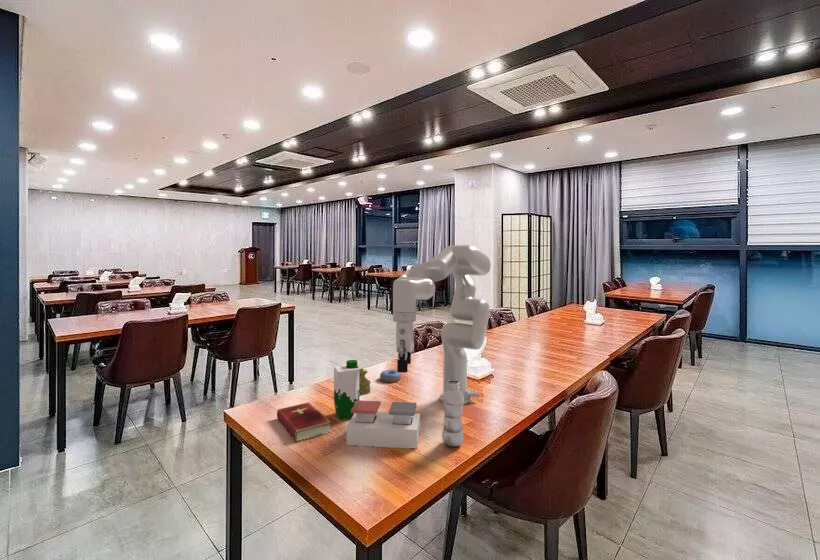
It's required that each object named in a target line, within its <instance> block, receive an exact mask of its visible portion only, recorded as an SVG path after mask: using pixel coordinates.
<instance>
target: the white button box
mask: <svg viewBox="0 0 820 560" xmlns="http://www.w3.org/2000/svg"><path fill="white" fill-rule="evenodd" d="M420 432H421V413H418V412H417V413H416V412H415V414H414V416H412V424H411V425H395V424H393V415H389V411H377V413H376V420H375V422H374V423H356V413H354V415H353V417H352V418H350V420H349V422H348V424H347V425H346V446H353V445H356V447H357V445H358V447H372V446H374V448H376V447H377V448H392V449H393V448H395V449H410V448H415V449H414V450H417V449H418V444H419V440H420V439H419V438H420V434H419V433H420Z"/></svg>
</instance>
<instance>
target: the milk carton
mask: <svg viewBox="0 0 820 560" xmlns="http://www.w3.org/2000/svg"><path fill="white" fill-rule="evenodd" d="M345 362H346V364H339V365H334V366H333V405H334V409H335V411H334V412H335V414H336V416H337V417H338V419H339V421H343V420H347V419H348V420H349V419H351V418H352V417H353V415H354V413H351V409H352V408H353V406H354V405H355V403H356V402H357V400H360V394H359V371H360V369H361V368H359V365H358V360H357V359H348V360H346V361H345Z"/></svg>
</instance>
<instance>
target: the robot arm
mask: <svg viewBox="0 0 820 560" xmlns="http://www.w3.org/2000/svg"><path fill="white" fill-rule="evenodd" d="M491 265H492V263H491V260H490V258H489V256H488V255H487V254H486V253H484V252H483V251H482V250H480V249H478V248H477V247H475V246H474V245H473V246H472V245H466V244H465V245H464V244H463V245H462V244H461V245H460V244H459V245H458V244H456V245H449V246H446V247H445V248H443V249H442V250H441V251H440V252H439V253H438V254H436V256H434V257H433V258H432V259H431V260H428V261H426V262H423V263H421V264H418V265H415V266H413V267H411V268H409V269H408V270H406V271H405V272H404V273H402V274H401V275H400V276H399V277H398V278H396V279H395V280H394V281H393V284H392V322H394V323H395V327H396V329H395V331H396V332H395V334H396V336H395V343H396V344H395V346H396V347H395V348H396V353H397V364H396V365H397V367H396V368H397V369H396V370H397V372H400V373H403V374H404V373H408V368H409V367H408V365H410V364H411V363H412V354H411V353H412V352H413V350H414V347H415V342H414V341H415V340H414V339H415V338H414V332H415V331H414V323H415V322H417V310H416V309H417V300H421V301H426V300H429V299H431V298H432V297H433V296H434V294H435V292H436V284H435V283H434V282H439V281H443V280H445V279H446V278H447V277H448V276H449V275H450V274H451V273H452V275H453V279H454V284H455V288H454V294H453V298H452V302H451V306H450V312H449V313H450V316H451V318H452V319H453V320H455V321H461V322H470V323H472V324H468V323H461V322H453V321H452V322H447V323H445V324H444V325H443V326H442V328H441V331H440V336H441V341H442V342H441V343H442V349H443V351H442V352H443V370H442V371H443V376H442V377H443V381H442V382H443V385H442V386H443V388H442V389H443V391H442V393H440V395H439V401H441V402H442V403H443V396H444V394H445V392H446V391H447V390H448V388H447V382H448V381H449V380H456V381H459V386H460V388H459V390H460V392H461V393H462V395H463V397H464V404H463V405H467V404H468V403H470V402H471V399H472V398H478V397H479V392H478V391H476V390H470V389H469V388H468V357H467V356H468V355H467V352H466V350H465V349H468V350H480V349H481V348H482V347H483V345H484V342H485V339H486V335H487V329H488V324H489V319H490V314H491V313H490V306H489V303H488V302H487V301H486V300H485V299H483V298H482V299H481V298H475V297H476V291H477V287H476V284H475V282H474V280H473V279H472V277H471V276H481V277H482V276H487V274H488V273H489V272H490V270H491ZM471 397H472V398H471Z"/></svg>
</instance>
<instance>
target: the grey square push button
mask: <svg viewBox="0 0 820 560" xmlns="http://www.w3.org/2000/svg"><path fill="white" fill-rule="evenodd" d="M416 410H417V402H408V401H407V402H406V401H392V402H391V404H390V407H389V410H388V412H389V415H393V424H395V425H411V424H412V416H414V414H415V413H416Z"/></svg>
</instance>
